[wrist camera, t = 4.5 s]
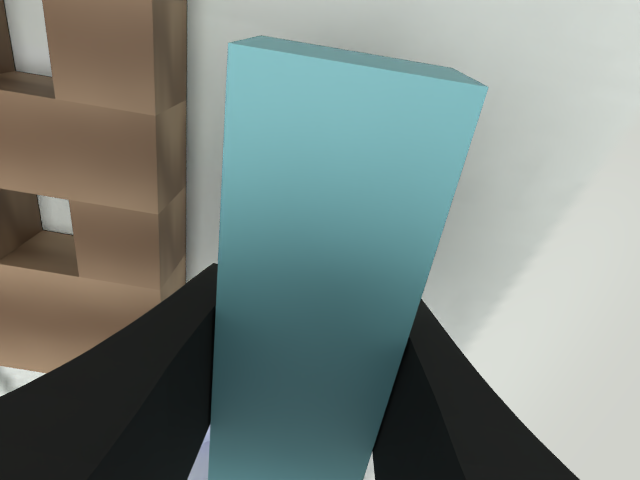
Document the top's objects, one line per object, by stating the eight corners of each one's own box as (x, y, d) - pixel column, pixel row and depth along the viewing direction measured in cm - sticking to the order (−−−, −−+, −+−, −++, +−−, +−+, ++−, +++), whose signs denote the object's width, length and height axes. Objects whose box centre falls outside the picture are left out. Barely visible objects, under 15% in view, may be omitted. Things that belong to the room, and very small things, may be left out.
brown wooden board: (185, 347, 23) (163, 391, 20) (-4, 317, 23) (-51, 357, 20) (188, -225, 13) (143, -290, 10) (-157, -286, 12) (-295, -368, 10)
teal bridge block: (343, 384, 14) (339, 554, 10) (251, 369, 14) (205, 533, 10) (423, 53, 9) (488, 87, 5) (287, 29, 9) (228, 42, 5)
